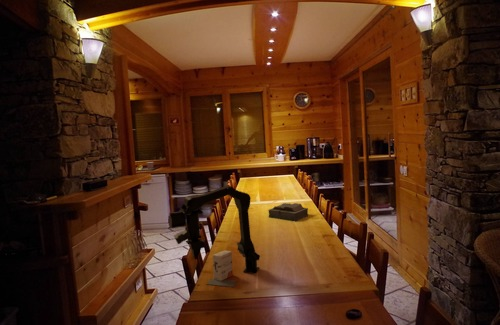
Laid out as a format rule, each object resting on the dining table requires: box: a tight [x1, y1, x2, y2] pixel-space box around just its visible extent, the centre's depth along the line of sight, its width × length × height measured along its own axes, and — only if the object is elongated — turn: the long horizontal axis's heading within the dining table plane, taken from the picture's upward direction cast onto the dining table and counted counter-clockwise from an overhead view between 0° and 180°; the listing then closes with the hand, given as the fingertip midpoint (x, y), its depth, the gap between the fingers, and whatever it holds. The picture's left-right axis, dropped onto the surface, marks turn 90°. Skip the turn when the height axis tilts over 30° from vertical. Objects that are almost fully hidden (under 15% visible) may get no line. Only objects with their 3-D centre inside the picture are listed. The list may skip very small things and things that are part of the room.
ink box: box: [212, 249, 234, 281], centre depth 165 cm, size 9×5×12 cm, turn 141°
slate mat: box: [206, 278, 238, 288], centre depth 159 cm, size 6×13×1 cm, turn 73°
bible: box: [268, 202, 309, 222], centre depth 266 cm, size 23×27×10 cm
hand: (195, 257), depth 157 cm, fingers open, 3 cm apart
